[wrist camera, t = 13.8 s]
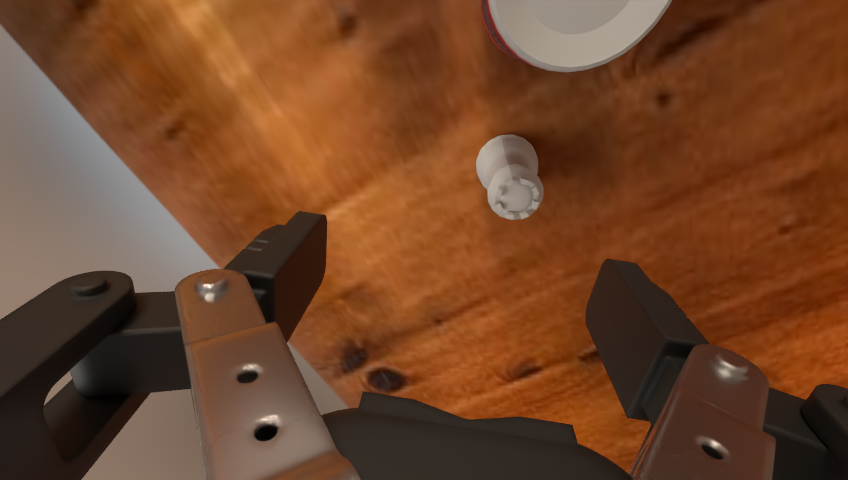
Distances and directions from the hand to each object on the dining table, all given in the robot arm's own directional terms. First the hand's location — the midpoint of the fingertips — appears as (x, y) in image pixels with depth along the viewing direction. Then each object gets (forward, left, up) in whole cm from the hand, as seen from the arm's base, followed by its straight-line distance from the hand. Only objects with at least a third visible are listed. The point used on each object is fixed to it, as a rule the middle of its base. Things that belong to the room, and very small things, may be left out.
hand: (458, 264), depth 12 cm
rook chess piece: (+3, -2, -20) cm, 21 cm away
